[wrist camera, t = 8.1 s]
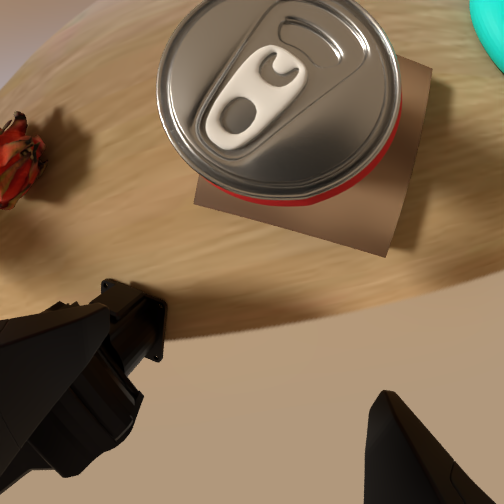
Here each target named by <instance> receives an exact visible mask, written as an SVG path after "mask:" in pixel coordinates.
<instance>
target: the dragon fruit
mask: <svg viewBox="0 0 504 504" xmlns="http://www.w3.org/2000/svg"><path fill="white" fill-rule="evenodd" d="M14 116H15V120H14V122H13V124H12V125H11V126H10V127H9V128H8V129H7V130H6V131H5V132H4V130H5V129H6V128H7V127H8V126H9V125H10V123H11V121H12V120H10V121H8V122H7V123H6V125H5V126H4V127H3V129H1V128H0V209H3V210H10V209H12V208H14V207H15V204H16V203H17V201H18V200H19V199H20V198H21V197H22V196H23V195H24V194H25V193H26V192H27V191H28V190H29V188H30V187H31V185H32V184H33V183H34V182H35V180H36V179H37V178H39V177H40V176H41V174H42V172H43V171H44V169H45V167H46V166H47V162H48V160H47V161H46V162H44V163H41V161H40V160H39V159H38V158H39V157H40V156H41V154H42V153H43V152H44V150H45V148H46V145H45V144H44V142H43V141H42V139H41V138H40V136H39V135H36V136H35V137H32V136H26V135H25V133H26V129H27V127H28V124H27V120H26V116H25V115H24V114H23V113H21V112H18V111H16V112H14Z"/></svg>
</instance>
